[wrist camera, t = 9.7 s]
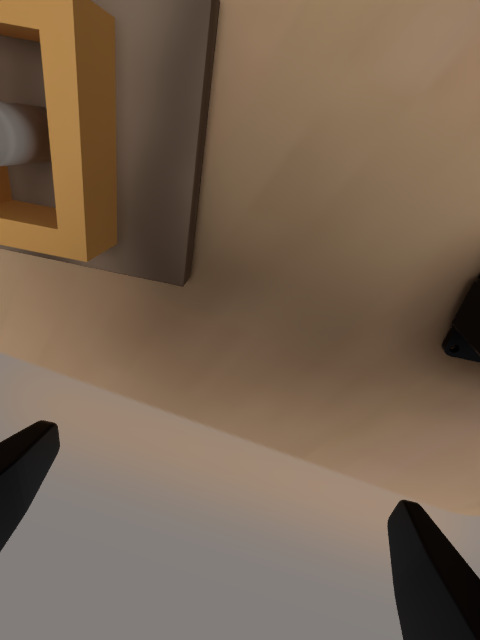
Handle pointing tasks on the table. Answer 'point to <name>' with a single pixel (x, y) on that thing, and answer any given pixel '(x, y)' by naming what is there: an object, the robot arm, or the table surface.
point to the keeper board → (128, 131)
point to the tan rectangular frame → (69, 129)
